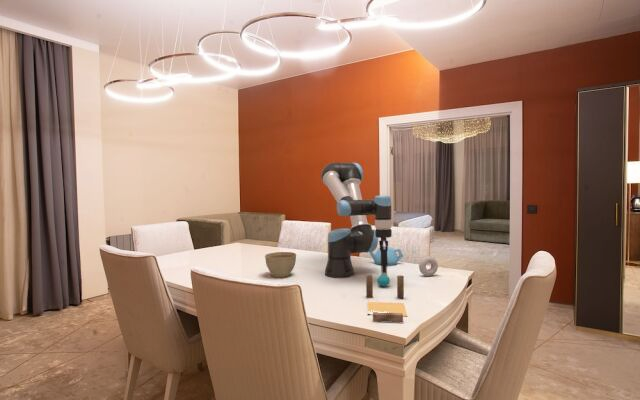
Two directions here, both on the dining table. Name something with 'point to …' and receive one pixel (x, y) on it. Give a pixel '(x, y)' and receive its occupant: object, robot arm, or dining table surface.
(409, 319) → the dining table surface
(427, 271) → the donut
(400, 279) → the right post
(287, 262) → the planter bowl
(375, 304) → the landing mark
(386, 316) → the brown rectangular bar
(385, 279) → the ball
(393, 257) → the teapot
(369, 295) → the left post
